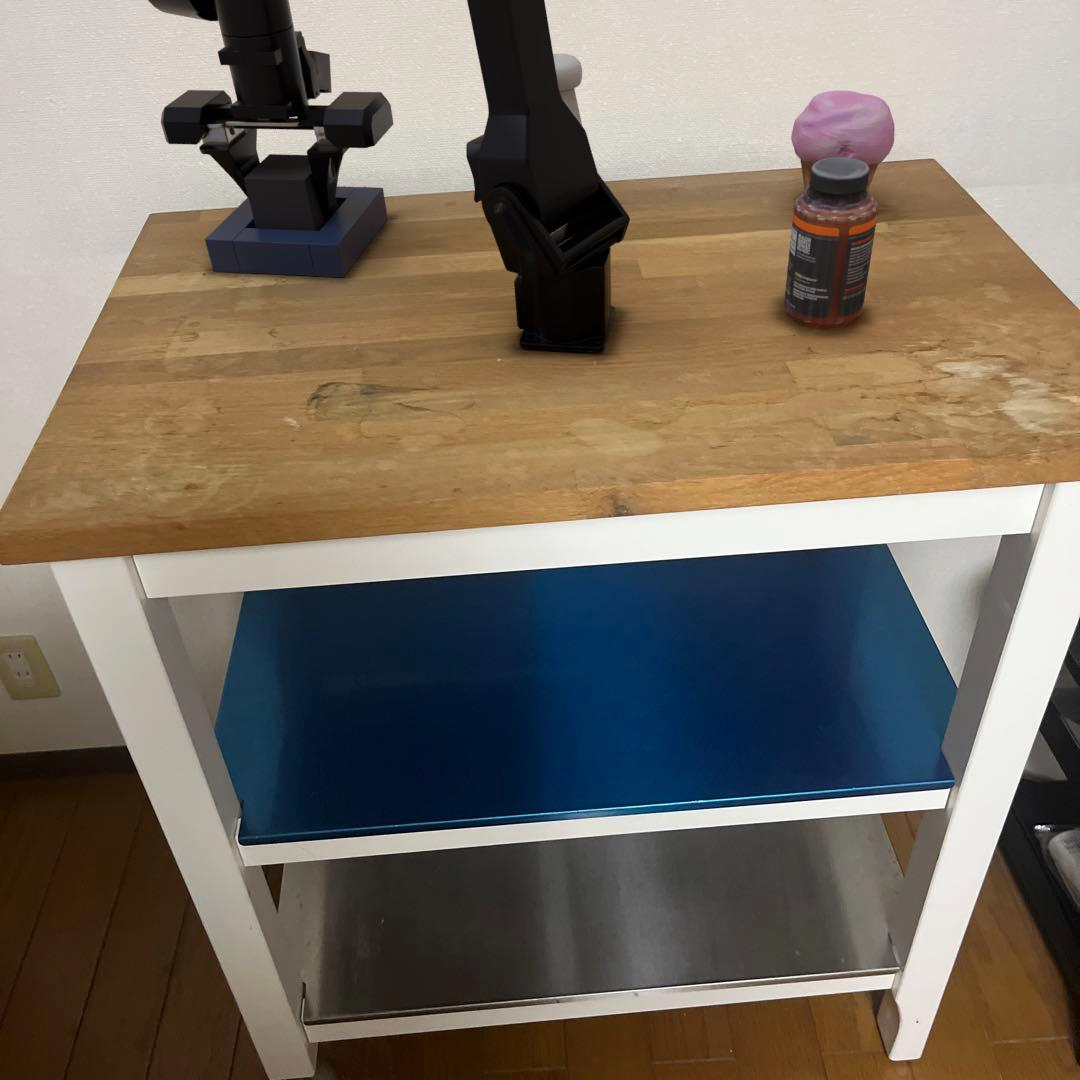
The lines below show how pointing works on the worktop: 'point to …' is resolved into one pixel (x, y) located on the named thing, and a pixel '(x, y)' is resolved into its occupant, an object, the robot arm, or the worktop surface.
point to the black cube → (285, 194)
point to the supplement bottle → (831, 244)
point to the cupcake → (843, 130)
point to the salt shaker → (568, 80)
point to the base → (300, 239)
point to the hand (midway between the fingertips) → (297, 216)
